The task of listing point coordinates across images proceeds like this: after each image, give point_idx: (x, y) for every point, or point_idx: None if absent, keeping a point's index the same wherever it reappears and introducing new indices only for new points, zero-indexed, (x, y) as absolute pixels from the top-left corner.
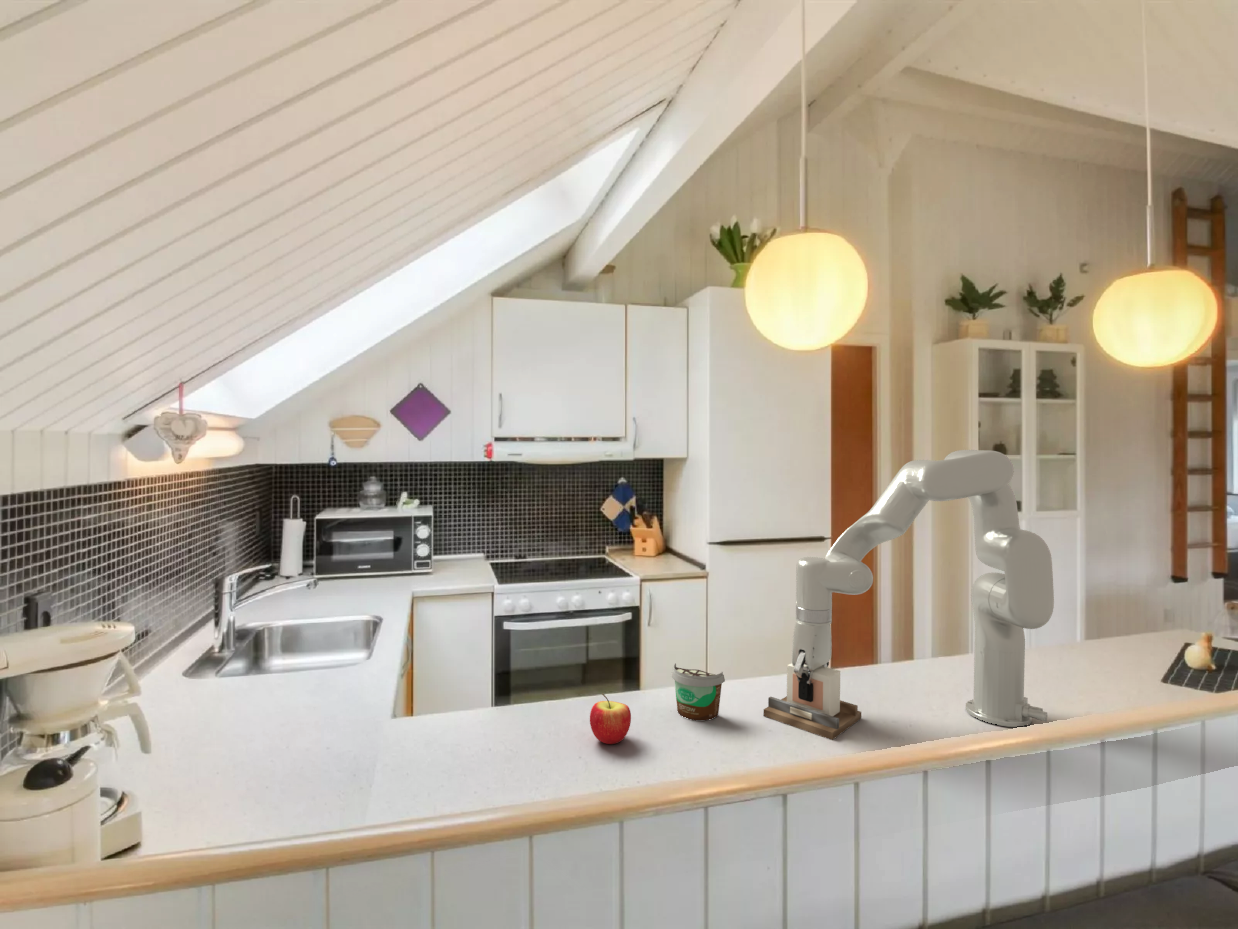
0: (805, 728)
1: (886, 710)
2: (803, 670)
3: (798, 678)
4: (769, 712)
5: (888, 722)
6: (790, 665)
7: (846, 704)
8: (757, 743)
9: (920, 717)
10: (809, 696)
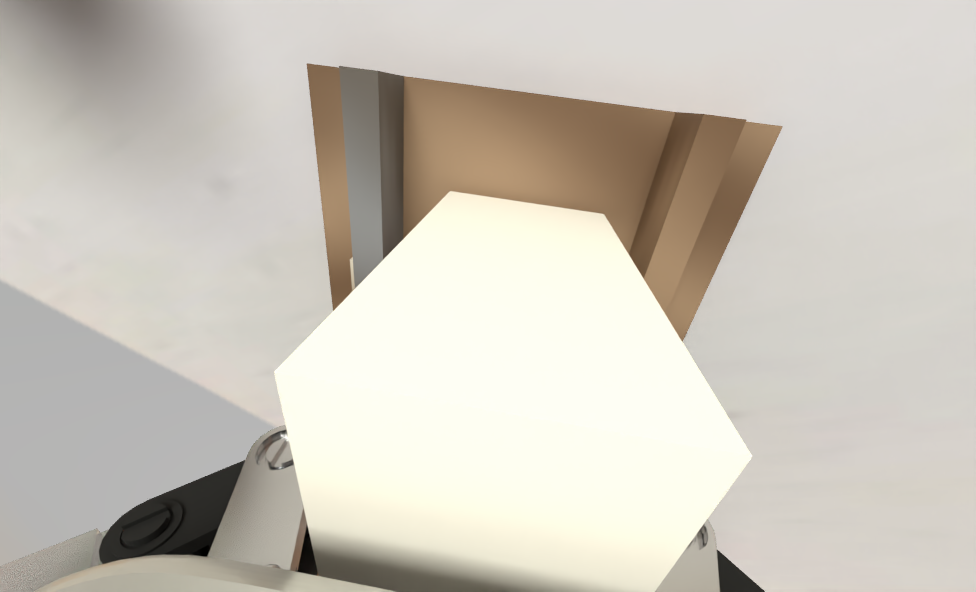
0: None
1: (750, 506)
2: (296, 561)
3: (203, 481)
4: (317, 117)
5: None
6: (314, 418)
7: None
8: (78, 191)
9: None
10: None
